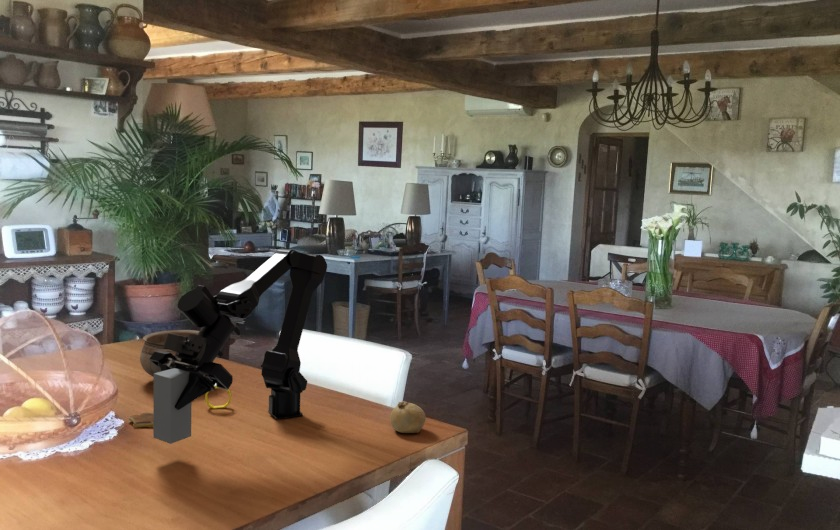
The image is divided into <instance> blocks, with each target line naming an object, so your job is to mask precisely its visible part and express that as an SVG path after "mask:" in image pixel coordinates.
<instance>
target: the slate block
mask: <svg viewBox="0 0 840 530" xmlns="http://www.w3.org/2000/svg"><path fill="white" fill-rule="evenodd" d="M188 382H189V372H187V371H183V370H180V369H176V368H173V369H169V370H165V371H161V372H158V373H154V377H153V413H154V418H153V427H152V428H153V432H152V433H153V435H152V436H153V438H154V439H156V440H158V441H162V442H164V443H166V444H170V445H171V444H174V443H176V442H179V441H182V440H185V439H187V438H191V437H192V402H193V401H192V402H190V403H189V404H187V405H186V406H184V407H183V408H181V409H180V410H177V409H176V408H175V405H176V403H177V401H178V399H179V397H180V395H181V394H182V392H183V390H184V389H185V387H186V385H187V384H188Z"/></svg>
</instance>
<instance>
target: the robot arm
mask: <svg viewBox="0 0 840 530" xmlns="http://www.w3.org/2000/svg"><path fill="white" fill-rule="evenodd" d="M288 271H289V280H290V283H291V286H292V287H291V291H290V295H289V299H288V302H287V306H286V310H285V313H284V317H283V321H282V324H281V328H280V332H279V335H278V340H277V342H276V345H275V346H274V347H273V349H272V350H266V351H265V352H264V357H263V361H262V364H261V365H260V368H261V376H262V378H263V381H264V385H265V388H266V389H270V394H269V395H268V413H269V414H270V415H271V416H272V417H274V418H275V419H276V420H283V419H289V418H298V417H302V416H303V412H301V394H302V393H303V392H304V391H306V389H307V386H308V380H307V379H306V378H305V376H304V375H303V374H302V373H301V372H300V371H301V364H302V362H301V359H300V355H299V351H298V350H299V346H300V342H301V338H302V334H303V331H304V326H305V323H306V320H307V316H308V312H309V308H310V303H311V299H312V297H313V293H314V292H315V290H317V289H318V287H320V286H321V284H322V283H323V282H324V281H323V280H324V277H325V275H326V273H327V271H328V263H327V261H326V259H325V257H324V256H323V255H322V254H316V253H315V254H314V253H306V252H300V251H297V250H295V249H292V248H291V249H289V248H279V249H276V250H275V252H274V253H273V254H272V256H271V257H270V258H268V259H267V260H266V261H265V262H263V263H262V264H261V265H260V266H258V268H257V269H255V271H253V272H252V273H251V274H250V275H249V276H247V277H246V278H245V279H243V280H241V281H238V282H234V283H231V284H230V285H228V286H226V287H224V288H223V289H221V290H219V292H218V293H217V294H216V295H212V293H211V292H210V290H209V289H208V287H207V286H206V285H200V284H198V285H197V286H196V287H195V288H193V289H191V290H188V291H187V292H186V293H185V294H183V295H181V296H180V298H179V300H178V302H177V308H178V310H179V311H180V312H181V314H183V315H184V316H185V317H186V318H187V320H189V321H190V322H191V324H192V325H193V326H194V327H196V328H200V329H199V330H198V331H199V333H198V334H197V335H195V334H190V335H189V337H184V336H180V335H175V334H170V333H168V334H167V337H166V340H165V343H164V346H163V349H166V350H167V349H169V350H172V351H175V352H176V354H175V355H176V356H177V357H178V358H180V359H181V360H180V361H179V360H178V359H177V358H176V357H175V356H174V355H172V354H171V353H169V352H165V351H161V350H159V351H154V353H153V354H152V356H151V357H150V359H149V360H150V361H151V362H152V363H153V364H154V365H155V366H156V367H157V368H158V369H160V370H161V371H165V370H169V369H173V368H176V369H180V370H183V371H187V372H189V382H188V384H187V385H186V387H185V389H184V390H183V392H182V394H181V395H180V397H179V399H178V401H177V403H176V405H175V408H176V409H177V410H180V409H181V408H183V407H184V406H186V405H187V404H189V403H190V402H193V401H196V400H197V399H198V398H200V397H202V396H204V395H206V393H207V392H208V393H209V392H211V391H216V388H215V387H214V385H215V383H216V385H217V387H218V389H221V390H225V391H226V390H228V389H229V390H230V387H231V386H232V384H233V379H234V378H233V374H231V373H230V371H228V370H227V368H226V367H224V365H223V364H221V363H217V362H214V361H215V360H216V358H217V359H218V358H219V359H221V358H222V356H224V353H223V352H222V351H221V350H222V348H223V347H224V346H225V344H226V342H227V341H228V339H229V337H230V336H231V335H233V336H237V337H239V336H241V330H240V327H239V326H240V325H239V324H240V322H237V321H233V320H232V319H231V317H232V318H239V319H247V318H248V317H250V315H251V314H252V313H253V312H254V310H255V309H256V308H257V306H258V305H259V302H260V297H261V296H262V295H263V294H264V293H265V292H266V291H267V290H269V289H270V288H271V287H272V286H273V285H274V284H275V283H276V282H278V280H280V279H281V278H282V277H283V276H284V275H285V274H286V273H287V272H288ZM186 367H187V368H186Z"/></svg>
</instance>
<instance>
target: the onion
mask: <svg viewBox="0 0 840 530" xmlns="http://www.w3.org/2000/svg"><path fill="white" fill-rule="evenodd" d="M426 418H427V417H426V413H425V411H424V410H423V409H422V408H421V407H420V406H418V405H417V404H415V403H411V402H409V401H408V402H407V401H405V400H403V401H399V402H398V403H397V405H396V406H395V407H394V408H393V409H392V410H391V413H390V416H389V422H390V425H391V427H392V428H393V429H394V431H397V432H398V433H402V434H419V433H420V432H421V430H422V428H423V427H424V426H425V423H426V420H427V419H426Z"/></svg>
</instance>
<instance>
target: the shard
mask: <svg viewBox="0 0 840 530" xmlns="http://www.w3.org/2000/svg"><path fill="white" fill-rule="evenodd" d="M153 418H154V412H153V411H152V412H142V413H139V414H132V415H130V416H128V418H127V419H128V420H129V421H130V422H132V423H133V424H132V426H133V428H135V429H136V428H153Z"/></svg>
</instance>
